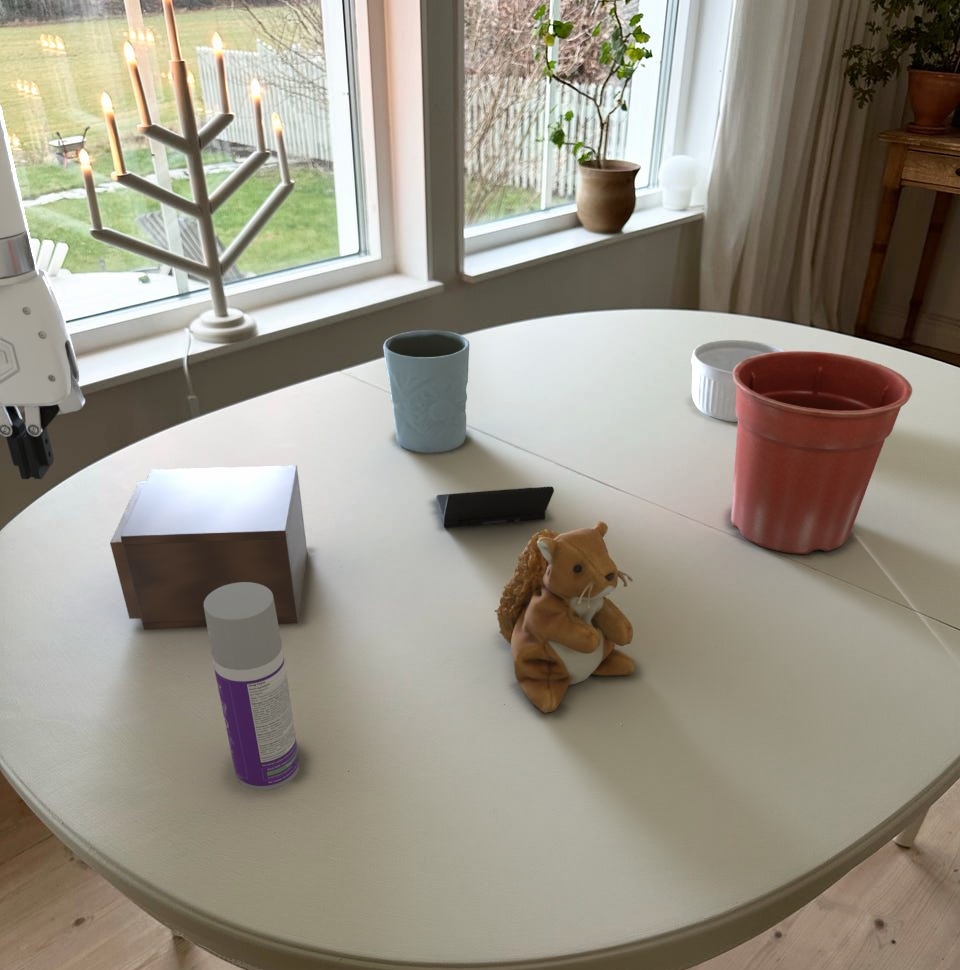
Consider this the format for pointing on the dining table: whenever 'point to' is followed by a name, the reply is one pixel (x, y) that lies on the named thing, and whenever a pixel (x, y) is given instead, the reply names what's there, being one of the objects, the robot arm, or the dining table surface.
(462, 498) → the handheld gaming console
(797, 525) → the flower pot
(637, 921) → the dining table surface
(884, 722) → the dining table surface
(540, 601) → the stuffed squirrel
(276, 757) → the container
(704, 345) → the ramekin
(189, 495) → the cabinet
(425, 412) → the light blue cup
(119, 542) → the drawer
